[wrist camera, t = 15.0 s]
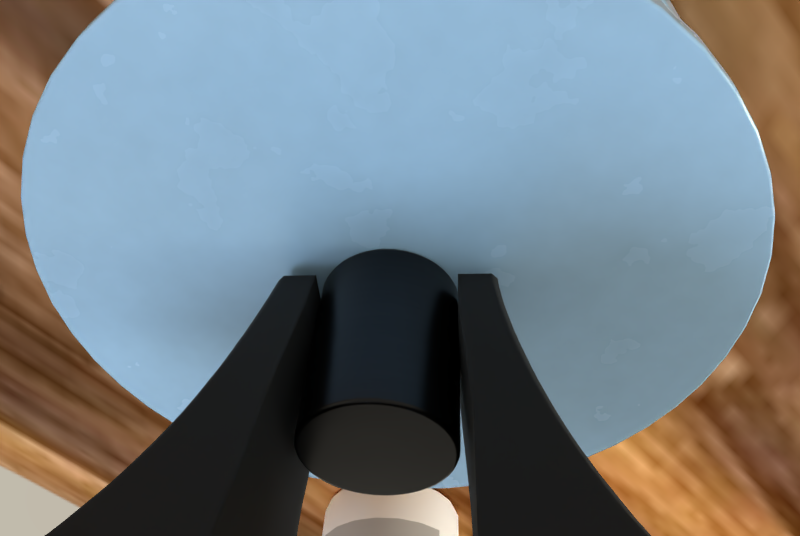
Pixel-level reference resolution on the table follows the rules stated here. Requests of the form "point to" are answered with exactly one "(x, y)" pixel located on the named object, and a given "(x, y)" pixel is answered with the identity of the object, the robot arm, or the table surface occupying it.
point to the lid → (401, 208)
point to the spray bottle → (390, 515)
